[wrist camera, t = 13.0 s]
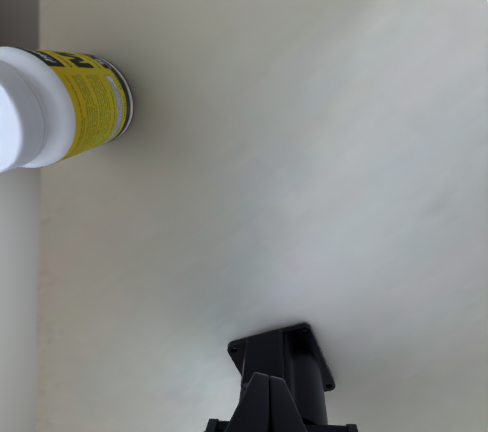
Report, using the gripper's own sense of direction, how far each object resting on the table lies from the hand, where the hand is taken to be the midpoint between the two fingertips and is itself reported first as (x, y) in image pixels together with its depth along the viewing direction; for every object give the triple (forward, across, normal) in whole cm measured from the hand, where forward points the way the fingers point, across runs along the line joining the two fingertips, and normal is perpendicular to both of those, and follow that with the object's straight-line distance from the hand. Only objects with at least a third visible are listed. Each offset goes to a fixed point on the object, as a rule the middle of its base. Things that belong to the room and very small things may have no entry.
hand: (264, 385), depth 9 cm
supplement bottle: (+13, +12, -4) cm, 18 cm away
